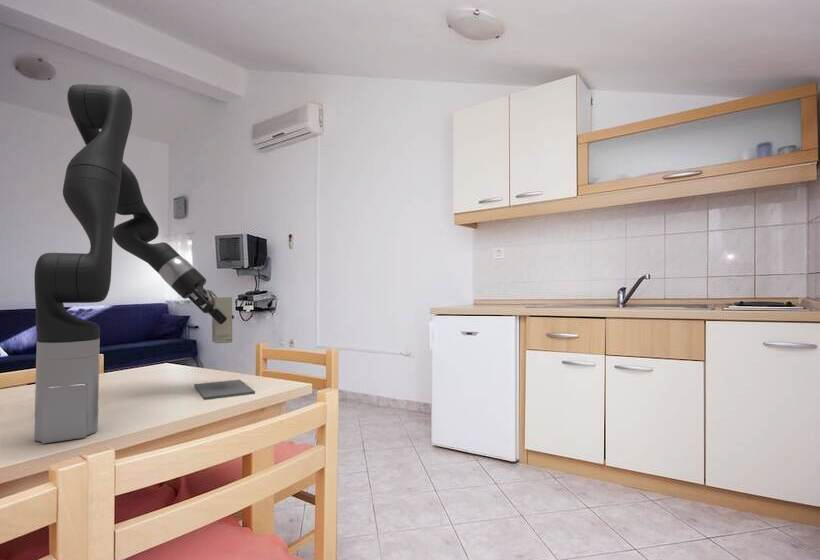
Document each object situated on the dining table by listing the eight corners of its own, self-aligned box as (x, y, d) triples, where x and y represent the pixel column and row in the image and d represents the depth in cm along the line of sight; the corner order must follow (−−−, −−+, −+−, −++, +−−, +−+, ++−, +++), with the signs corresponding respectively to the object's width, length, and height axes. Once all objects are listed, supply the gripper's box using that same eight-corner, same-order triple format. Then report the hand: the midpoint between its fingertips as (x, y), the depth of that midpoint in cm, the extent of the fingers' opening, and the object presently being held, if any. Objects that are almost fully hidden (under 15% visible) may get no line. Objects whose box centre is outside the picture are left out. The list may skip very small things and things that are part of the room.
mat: (255, 393, 113) (255, 391, 113) (204, 399, 107) (204, 397, 107) (239, 381, 129) (239, 379, 129) (194, 386, 122) (194, 384, 122)
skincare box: (232, 342, 117) (233, 296, 117) (214, 343, 114) (215, 296, 115) (228, 340, 122) (229, 296, 122) (211, 341, 120) (211, 296, 120)
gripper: (183, 265, 111) (232, 312, 112) (201, 268, 125) (244, 309, 126) (160, 286, 110) (209, 333, 111) (181, 287, 124) (224, 328, 125)
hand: (228, 320), depth 119 cm, fingers closed on skincare box, 7 cm apart
